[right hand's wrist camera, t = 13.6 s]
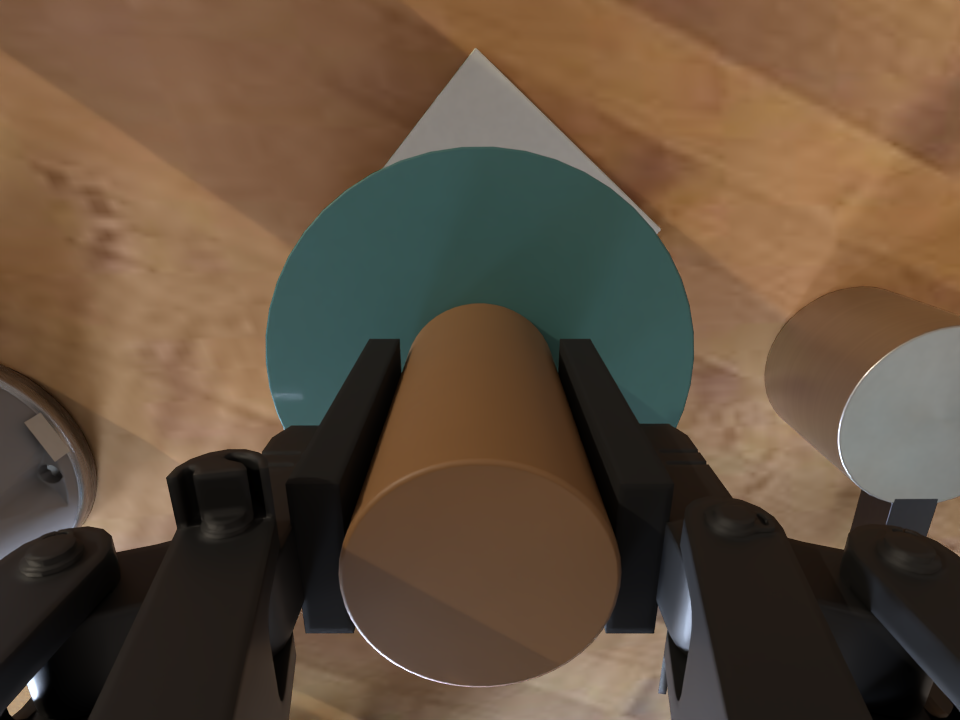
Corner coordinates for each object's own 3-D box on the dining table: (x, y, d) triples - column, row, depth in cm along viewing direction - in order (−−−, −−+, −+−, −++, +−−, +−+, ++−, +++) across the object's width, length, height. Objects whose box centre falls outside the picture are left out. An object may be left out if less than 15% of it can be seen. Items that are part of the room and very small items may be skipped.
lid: (497, 588, 19) (511, 929, 11) (199, 380, 17) (-88, 618, 8) (767, 341, 16) (1077, 549, 8) (454, 39, 14) (413, -137, 5)
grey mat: (477, 416, 37) (477, 420, 37) (299, 277, 34) (296, 279, 33) (658, 227, 33) (661, 229, 32) (475, 49, 30) (475, 46, 29)
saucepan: (779, 286, 34) (864, 325, 27) (945, 286, 34) (1076, 324, 27) (719, 613, 43) (770, 711, 35) (852, 612, 43) (931, 710, 36)
